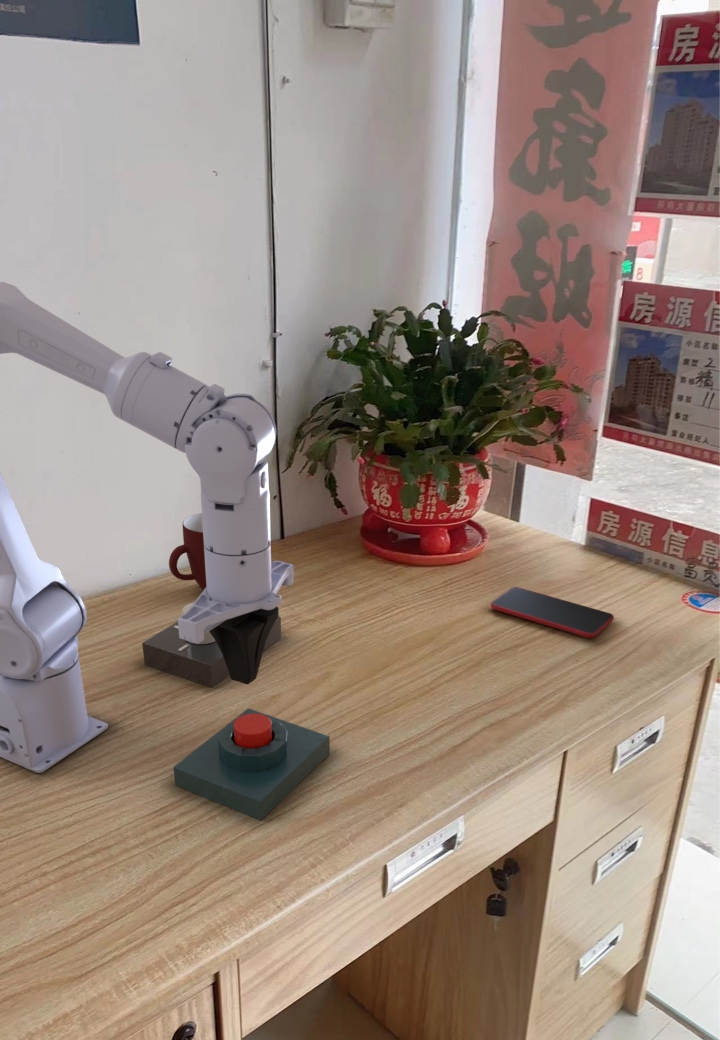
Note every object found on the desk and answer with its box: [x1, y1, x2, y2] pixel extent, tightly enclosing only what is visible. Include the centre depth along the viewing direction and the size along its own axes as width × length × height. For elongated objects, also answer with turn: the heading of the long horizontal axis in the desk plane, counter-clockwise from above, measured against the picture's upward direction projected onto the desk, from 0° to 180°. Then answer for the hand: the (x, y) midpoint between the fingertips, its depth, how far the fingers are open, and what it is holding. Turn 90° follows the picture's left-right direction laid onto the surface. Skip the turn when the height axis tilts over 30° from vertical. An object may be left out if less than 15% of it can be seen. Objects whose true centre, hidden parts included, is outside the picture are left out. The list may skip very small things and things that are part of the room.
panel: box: [141, 616, 282, 688], centre depth 107 cm, size 14×10×3 cm
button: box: [234, 714, 272, 748], centre depth 84 cm, size 4×4×2 cm
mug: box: [168, 512, 207, 592], centre depth 120 cm, size 10×8×10 cm
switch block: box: [173, 708, 331, 821], centre depth 86 cm, size 12×10×4 cm
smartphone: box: [490, 586, 615, 639], centre depth 117 cm, size 7×1×15 cm
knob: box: [181, 601, 215, 644], centre depth 103 cm, size 4×4×4 cm
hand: (243, 678), depth 82 cm, fingers closed
